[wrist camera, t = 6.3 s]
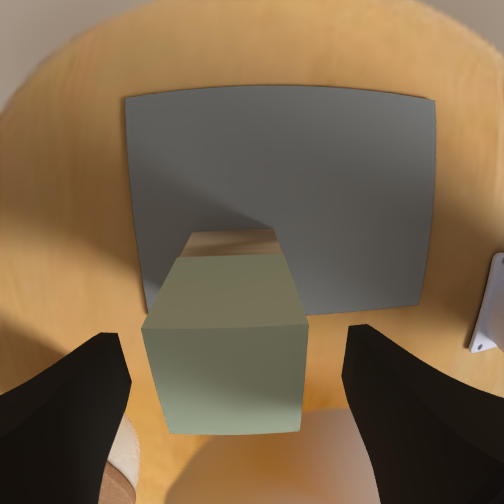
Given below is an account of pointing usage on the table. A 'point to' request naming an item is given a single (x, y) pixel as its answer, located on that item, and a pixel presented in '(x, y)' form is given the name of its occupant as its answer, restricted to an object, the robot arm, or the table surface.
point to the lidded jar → (122, 467)
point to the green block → (228, 346)
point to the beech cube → (232, 243)
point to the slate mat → (290, 184)
